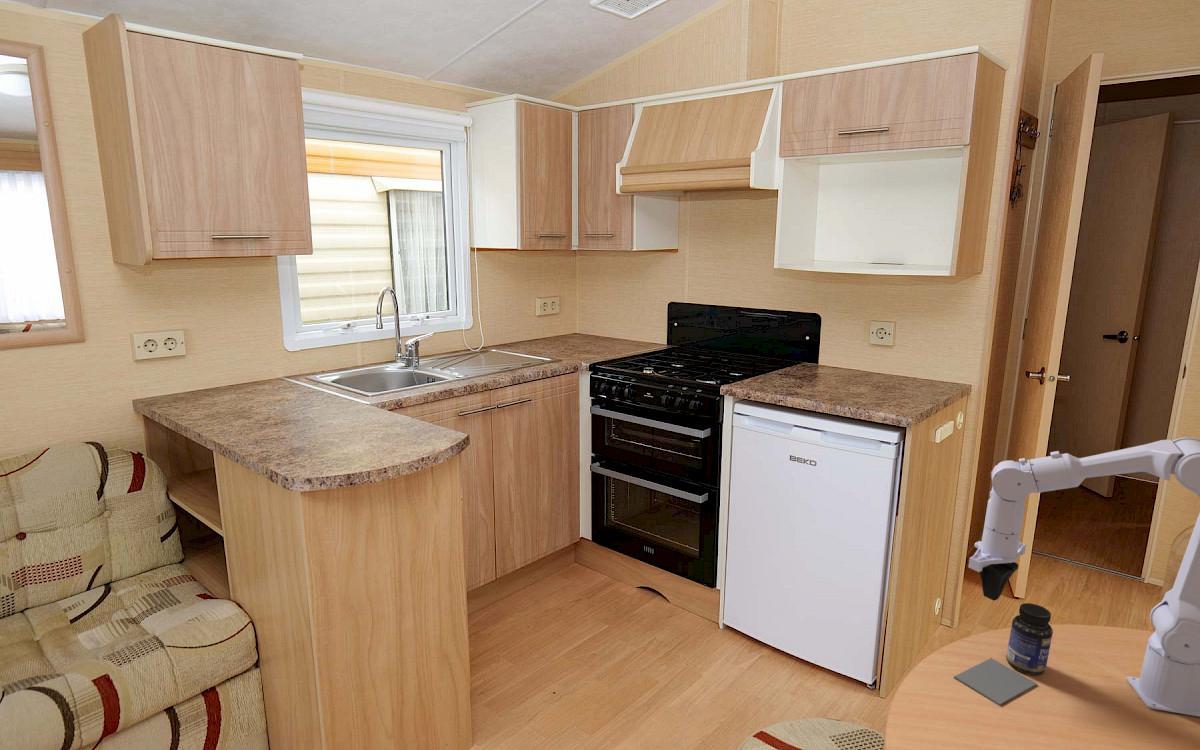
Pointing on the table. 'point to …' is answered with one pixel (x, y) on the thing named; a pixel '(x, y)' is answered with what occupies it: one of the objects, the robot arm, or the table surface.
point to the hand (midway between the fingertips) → (990, 597)
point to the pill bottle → (1030, 639)
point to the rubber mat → (995, 681)
